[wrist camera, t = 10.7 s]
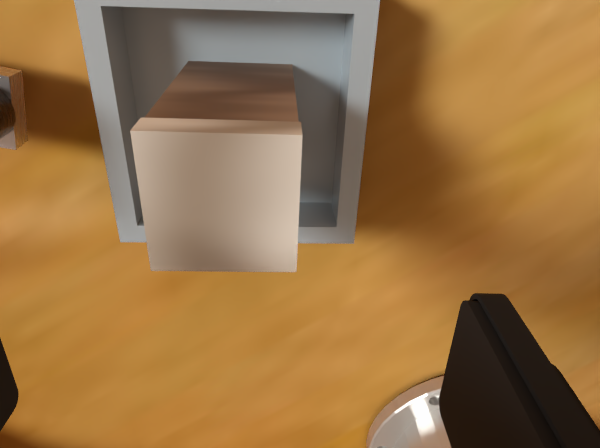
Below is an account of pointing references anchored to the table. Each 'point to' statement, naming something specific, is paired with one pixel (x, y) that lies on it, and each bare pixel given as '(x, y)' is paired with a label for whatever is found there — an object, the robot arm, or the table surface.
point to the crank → (12, 109)
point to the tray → (243, 49)
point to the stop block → (222, 169)
